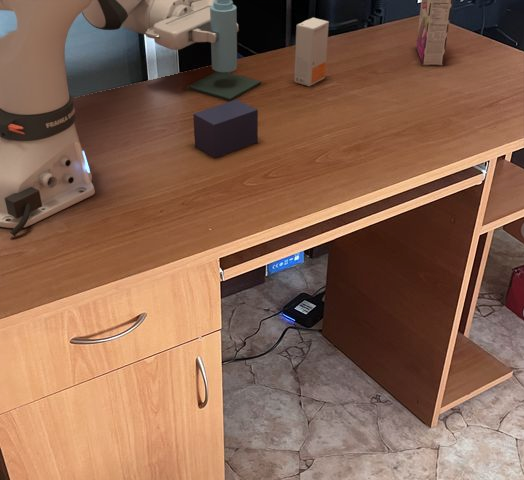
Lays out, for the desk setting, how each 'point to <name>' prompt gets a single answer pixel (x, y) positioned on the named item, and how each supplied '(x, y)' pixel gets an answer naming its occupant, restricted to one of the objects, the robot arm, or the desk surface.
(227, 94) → the rubber mat
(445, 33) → the candy bar box
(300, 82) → the cosmetic box
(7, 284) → the desk surface
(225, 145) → the navy block
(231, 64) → the plastic bottle
